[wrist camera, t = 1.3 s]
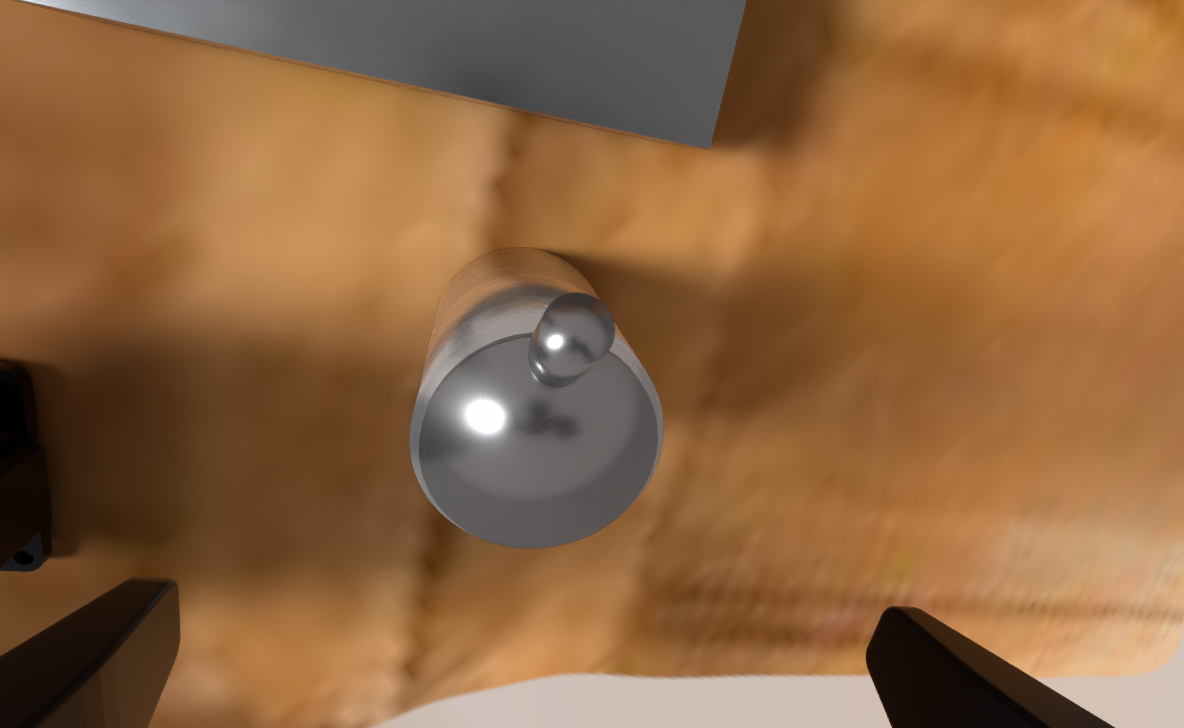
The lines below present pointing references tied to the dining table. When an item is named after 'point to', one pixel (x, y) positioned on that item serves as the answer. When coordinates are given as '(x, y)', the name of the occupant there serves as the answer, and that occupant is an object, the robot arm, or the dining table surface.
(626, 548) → the dining table surface
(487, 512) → the silver calibration weight
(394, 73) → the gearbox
